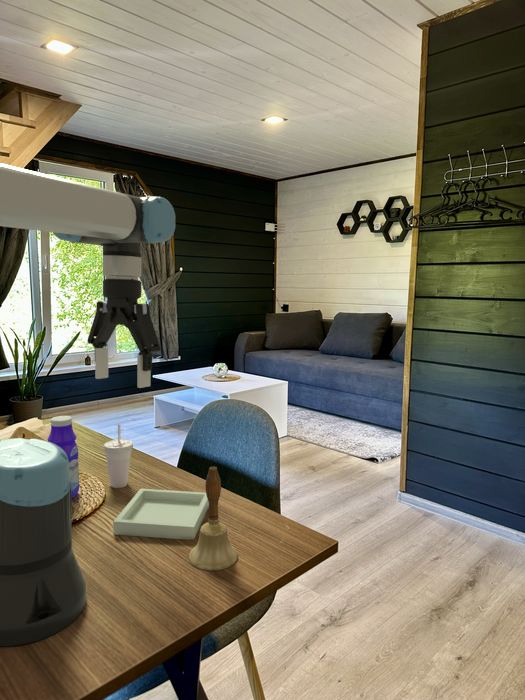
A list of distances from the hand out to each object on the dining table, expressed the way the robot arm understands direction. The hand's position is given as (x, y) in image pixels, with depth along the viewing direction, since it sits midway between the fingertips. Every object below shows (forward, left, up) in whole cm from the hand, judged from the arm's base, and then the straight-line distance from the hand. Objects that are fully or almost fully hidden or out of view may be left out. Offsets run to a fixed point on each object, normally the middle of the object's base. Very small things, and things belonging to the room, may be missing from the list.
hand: (122, 382), depth 104 cm
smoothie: (+7, +4, -26) cm, 27 cm away
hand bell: (-20, -23, -26) cm, 40 cm away
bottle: (-1, +13, -26) cm, 29 cm away
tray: (-7, -11, -25) cm, 29 cm away
